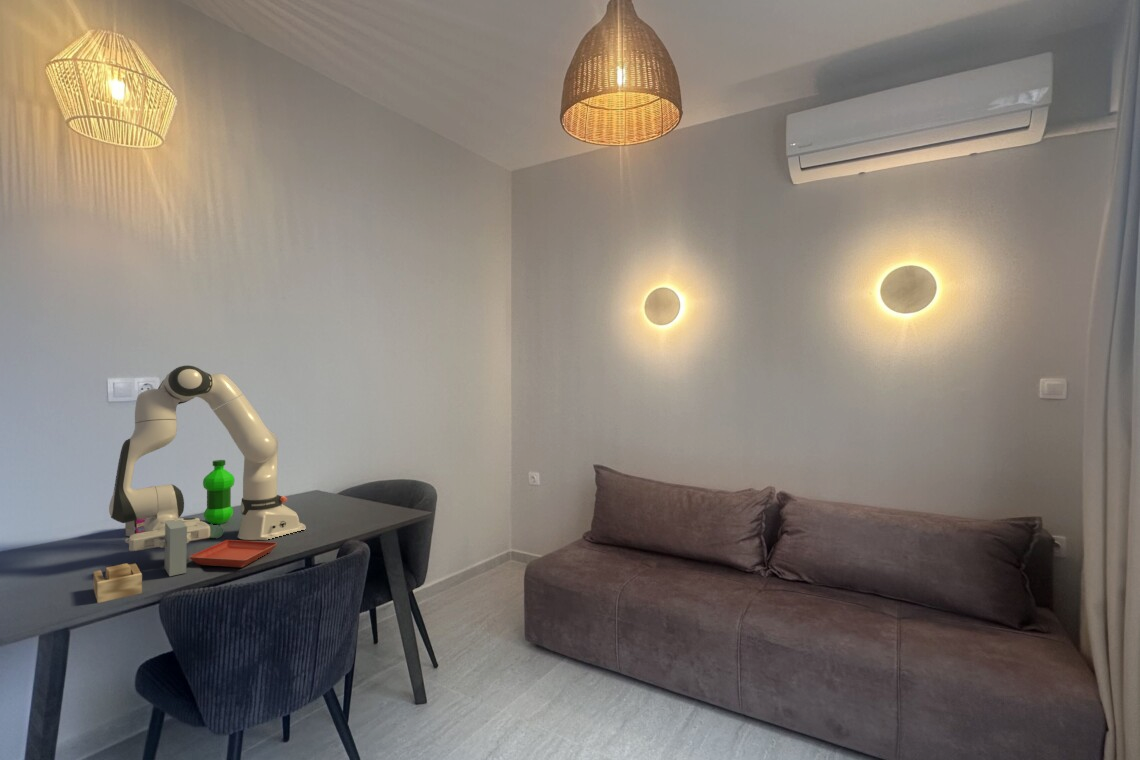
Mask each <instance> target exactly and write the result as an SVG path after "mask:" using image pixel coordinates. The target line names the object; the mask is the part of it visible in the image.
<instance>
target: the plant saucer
mask: <svg viewBox="0 0 1140 760" xmlns="http://www.w3.org/2000/svg"><path fill="white" fill-rule="evenodd" d="M277 545H278V542H272V541H271V542H268V541H257V540H237V539H235V540H234V539H225V540H223V541H222V542H219V543H217V544H214V545H212V546H209V547H207V548H205V549H203V550H200V551H198V552H196V553H194V554H191V555H189V556H188V558H189V559H190V560H192V562H193V563H195V564H196V565H199V566H215V567H216V566H217V567H229V568H244V567H245V566H247V565H249V564H251V563H253V562H255V561H256V560H259V559H261V558H263V557H264V555H265V556H267V555H268V554H270V553H271V552H272V550H273V549H274V548H276V546H277ZM267 553H268V554H267ZM262 556H263V557H262ZM260 557H261V558H260ZM258 558H259V559H258Z"/></svg>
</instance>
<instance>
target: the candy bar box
mask: <svg viewBox="0 0 1140 760" xmlns="http://www.w3.org/2000/svg"><path fill="white" fill-rule="evenodd" d="M155 486H156V485H153V486H151V487H155ZM149 487H150V486H149ZM149 487H146V488H149ZM145 519H146V518H143V519H137V520H135V521H131V522H127V523H124V525H125V526H124V527H125V537H129V536H131V535H133V534H136V533H142V532H145V530H144V522H145Z"/></svg>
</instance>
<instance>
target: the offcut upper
mask: <svg viewBox="0 0 1140 760" xmlns="http://www.w3.org/2000/svg"><path fill="white" fill-rule="evenodd" d="M129 575H131V566H130V564H129V563H122V564H116V565H114V566H108V567H105V578H106V580H109V579H114V578H119V577H124V576H129Z"/></svg>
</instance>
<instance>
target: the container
mask: <svg viewBox="0 0 1140 760" xmlns="http://www.w3.org/2000/svg"><path fill="white" fill-rule="evenodd" d="M207 524H208V525H209V526H210V537H209V538H208V539H210V538H216V539H219V538H222V536H223V534H224V528H223V527H221V526H220V524H217V525H213V524H211V523H210V524H209V523H207Z"/></svg>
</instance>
